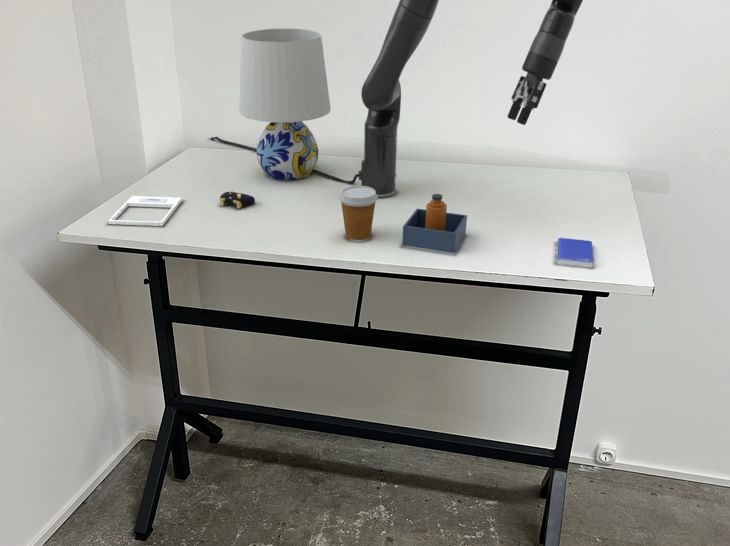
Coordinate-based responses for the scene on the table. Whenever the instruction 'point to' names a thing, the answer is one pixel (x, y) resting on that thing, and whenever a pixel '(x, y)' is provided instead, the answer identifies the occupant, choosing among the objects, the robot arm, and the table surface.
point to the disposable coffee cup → (358, 211)
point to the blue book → (575, 252)
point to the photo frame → (147, 202)
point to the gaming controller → (236, 199)
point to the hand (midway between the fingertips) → (515, 121)
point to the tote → (434, 232)
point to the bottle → (436, 213)
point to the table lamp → (284, 96)
